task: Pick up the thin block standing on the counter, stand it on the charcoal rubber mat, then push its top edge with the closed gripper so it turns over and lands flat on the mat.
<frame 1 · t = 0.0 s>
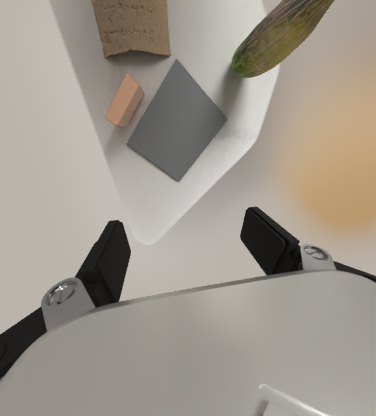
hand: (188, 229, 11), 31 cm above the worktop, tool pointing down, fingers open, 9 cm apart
vegetable: (237, 70, 31), on the worktop
block: (130, 107, 31), on the worktop
cork arch piece: (133, 21, 26), on the worktop
mat: (177, 131, 35), on the worktop
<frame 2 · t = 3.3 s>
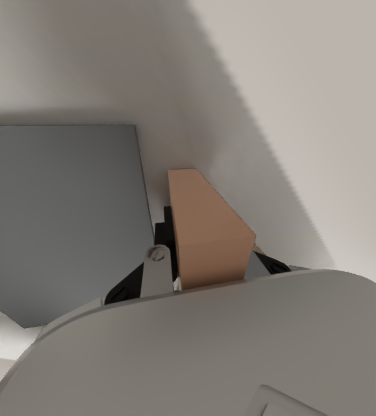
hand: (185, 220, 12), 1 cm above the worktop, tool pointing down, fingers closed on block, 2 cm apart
block: (183, 213, 13), on the worktop, touching gripper
mat: (65, 253, 13), on the worktop
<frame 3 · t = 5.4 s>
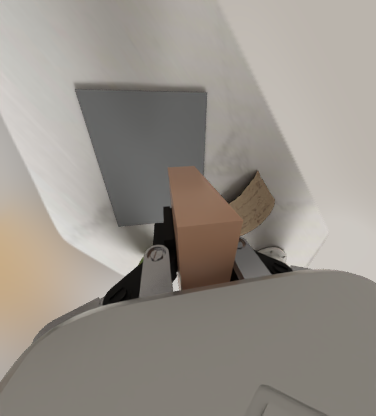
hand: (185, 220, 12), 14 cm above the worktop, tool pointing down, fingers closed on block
block: (182, 209, 13), point 12 cm above the worktop, touching gripper
cork arch piece: (240, 206, 30), on the worktop
mat: (155, 170, 23), on the worktop
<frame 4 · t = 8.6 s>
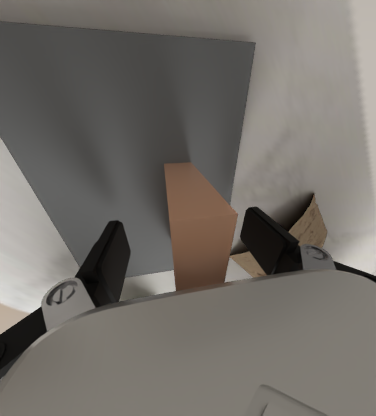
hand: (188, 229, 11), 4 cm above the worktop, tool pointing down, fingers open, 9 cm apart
block: (179, 206, 13), point 1 cm above the worktop, touching mat
cork arch piece: (275, 240, 20), on the worktop
mat: (147, 197, 13), on the worktop
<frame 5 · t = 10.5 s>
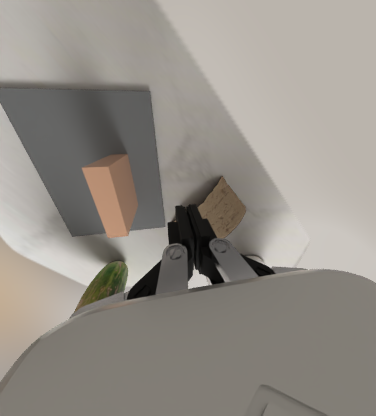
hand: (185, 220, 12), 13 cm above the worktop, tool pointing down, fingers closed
vegetable: (116, 260, 29), on the worktop
block: (125, 182, 21), point 1 cm above the worktop, touching mat
cork arch piece: (209, 214, 28), on the worktop
mat: (105, 176, 21), on the worktop
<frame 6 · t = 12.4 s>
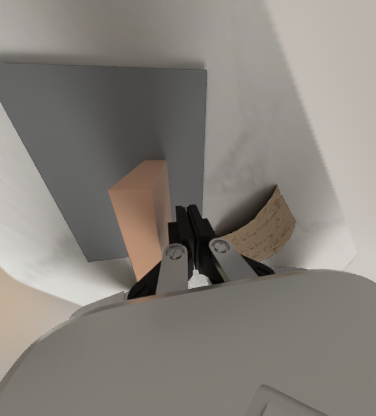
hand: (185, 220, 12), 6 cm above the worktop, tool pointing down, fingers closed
block: (160, 195, 16), point 1 cm above the worktop, tilted 7°, touching mat
cork arch piece: (250, 229, 23), on the worktop
mat: (133, 188, 16), on the worktop
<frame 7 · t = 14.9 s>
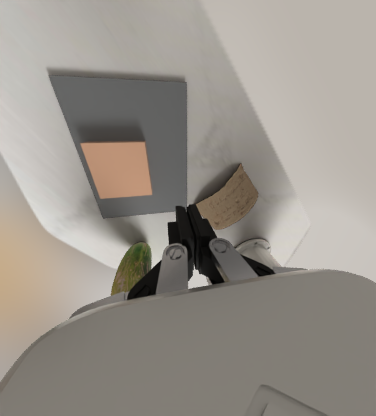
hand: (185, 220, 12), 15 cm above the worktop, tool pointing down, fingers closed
vegetable: (138, 242, 32), on the worktop
block: (149, 169, 22), point 2 cm above the worktop, tilted 90°, touching mat
cork arch piece: (225, 199, 31), on the worktop
mat: (138, 161, 23), on the worktop
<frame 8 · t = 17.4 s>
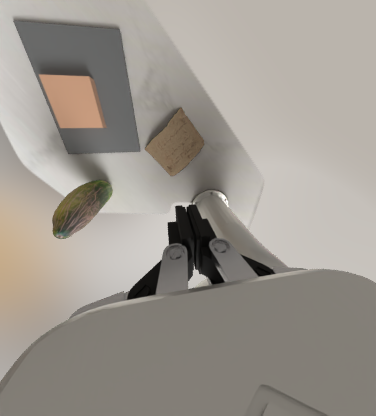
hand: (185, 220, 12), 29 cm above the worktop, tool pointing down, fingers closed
vegetable: (103, 184, 37), on the worktop
block: (98, 104, 28), point 2 cm above the worktop, tilted 90°, touching mat
cork arch piece: (175, 145, 36), on the worktop
mat: (91, 100, 29), on the worktop
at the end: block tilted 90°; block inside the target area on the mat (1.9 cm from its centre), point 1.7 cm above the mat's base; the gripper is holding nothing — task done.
